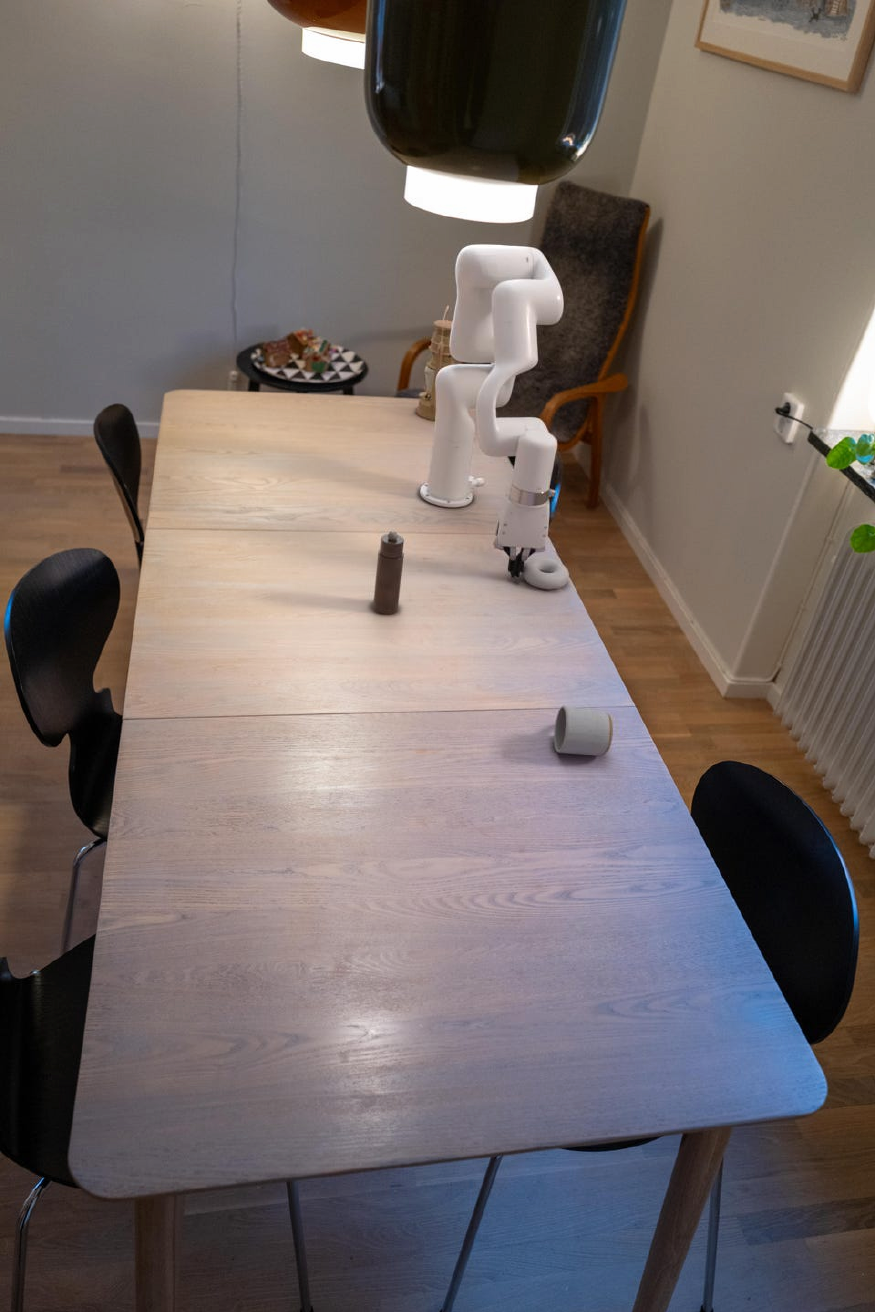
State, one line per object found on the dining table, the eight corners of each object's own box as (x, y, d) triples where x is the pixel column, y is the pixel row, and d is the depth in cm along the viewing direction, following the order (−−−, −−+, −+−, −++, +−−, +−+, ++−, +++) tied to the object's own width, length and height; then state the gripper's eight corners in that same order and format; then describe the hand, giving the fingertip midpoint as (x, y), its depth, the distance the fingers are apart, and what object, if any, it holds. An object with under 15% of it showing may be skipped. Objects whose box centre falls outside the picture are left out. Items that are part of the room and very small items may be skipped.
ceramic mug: (608, 765, 160) (618, 727, 156) (558, 762, 160) (567, 724, 155) (595, 725, 169) (605, 688, 165) (548, 722, 168) (556, 685, 164)
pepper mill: (389, 599, 196) (397, 523, 186) (402, 611, 192) (411, 535, 183) (368, 604, 193) (375, 528, 184) (381, 616, 190) (388, 539, 181)
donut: (567, 596, 205) (567, 571, 214) (571, 581, 203) (570, 557, 212) (519, 588, 205) (520, 565, 214) (522, 574, 204) (523, 551, 212)
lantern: (413, 403, 289) (424, 296, 272) (448, 405, 291) (462, 299, 274) (420, 422, 276) (432, 312, 260) (457, 424, 278) (471, 315, 262)
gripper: (562, 488, 202) (546, 568, 212) (489, 482, 200) (477, 563, 210) (569, 504, 196) (552, 585, 206) (494, 498, 194) (480, 581, 204)
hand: (514, 574), depth 208 cm, fingers closed
